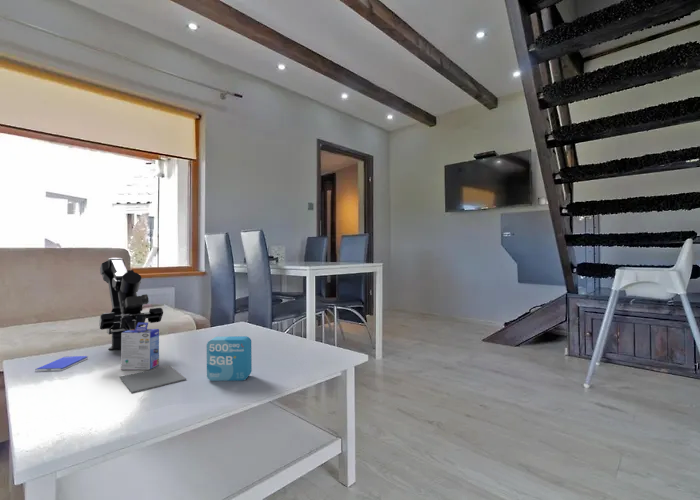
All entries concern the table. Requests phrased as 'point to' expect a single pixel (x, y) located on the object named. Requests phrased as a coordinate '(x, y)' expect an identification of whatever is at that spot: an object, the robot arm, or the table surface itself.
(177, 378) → the mat
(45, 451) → the table surface
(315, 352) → the table surface
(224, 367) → the data package
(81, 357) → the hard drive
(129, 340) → the ink cartridge box
